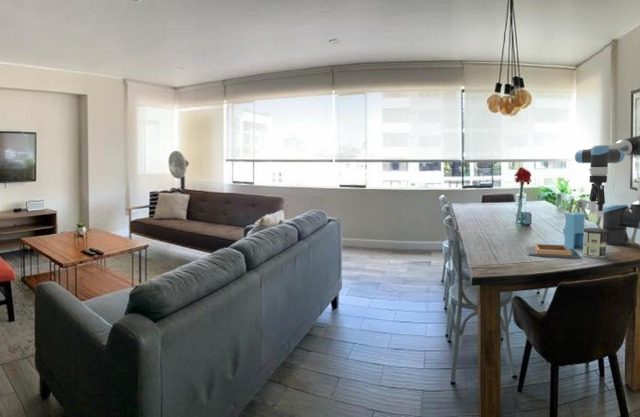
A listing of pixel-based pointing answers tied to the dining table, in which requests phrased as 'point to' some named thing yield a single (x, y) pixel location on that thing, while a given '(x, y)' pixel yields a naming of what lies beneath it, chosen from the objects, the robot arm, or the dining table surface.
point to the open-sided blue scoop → (574, 230)
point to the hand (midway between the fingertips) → (595, 215)
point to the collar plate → (552, 251)
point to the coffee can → (594, 242)
